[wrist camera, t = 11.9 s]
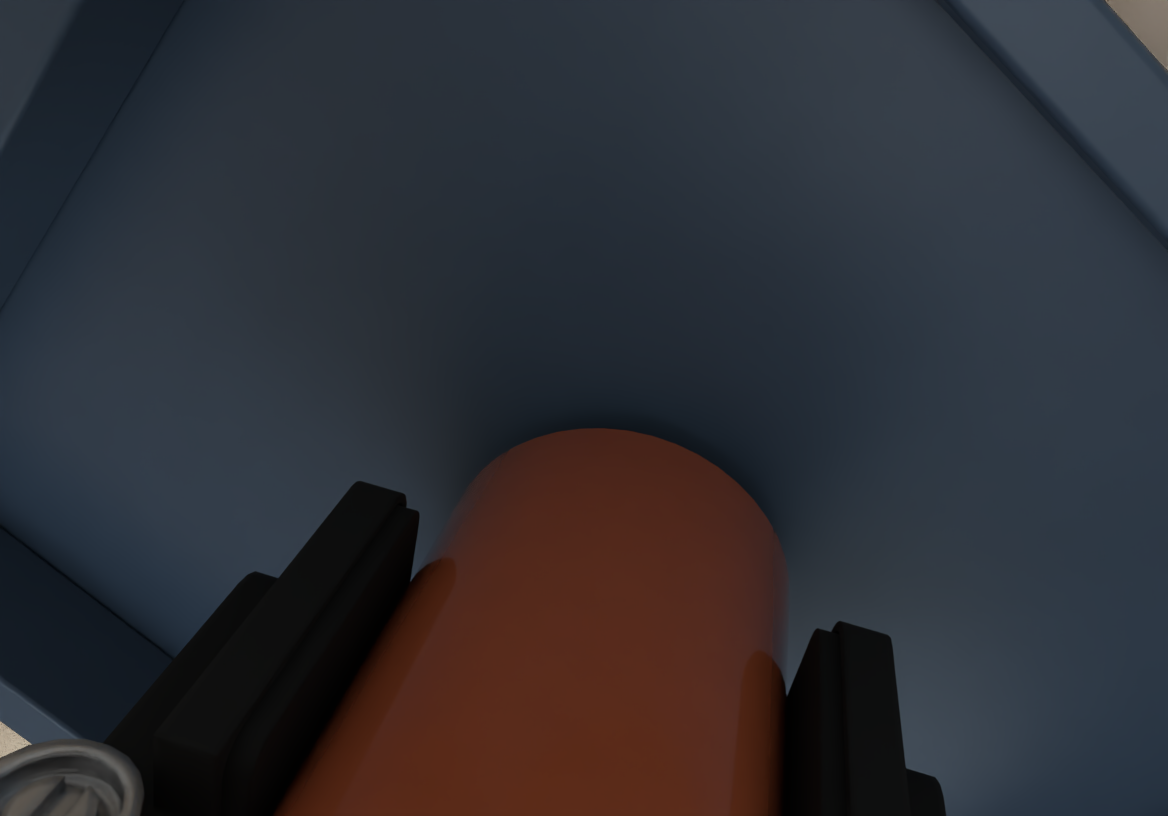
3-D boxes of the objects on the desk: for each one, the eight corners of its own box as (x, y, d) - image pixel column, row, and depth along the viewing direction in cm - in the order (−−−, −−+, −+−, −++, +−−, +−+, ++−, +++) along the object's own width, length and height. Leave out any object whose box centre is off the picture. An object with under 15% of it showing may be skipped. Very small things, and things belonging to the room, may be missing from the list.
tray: (-121, 439, 16) (-271, 526, 13) (482, -642, 9) (372, -829, 6) (684, 1056, 19) (667, 1210, 16) (1626, 632, 12) (1817, 803, 9)
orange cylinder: (384, 562, 13) (21, 1119, 7) (601, 353, 11) (354, 877, 5) (623, 760, 14) (478, 1421, 8) (866, 597, 12) (925, 1307, 6)
